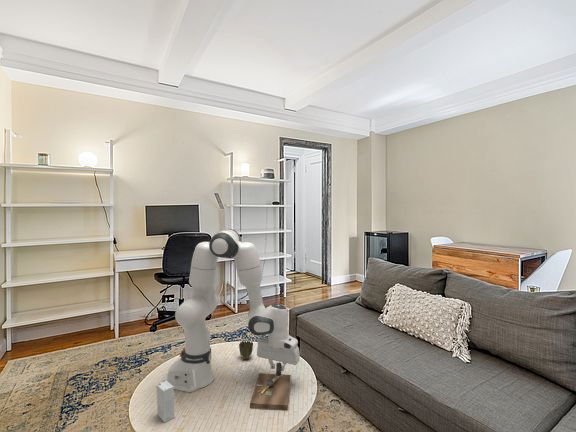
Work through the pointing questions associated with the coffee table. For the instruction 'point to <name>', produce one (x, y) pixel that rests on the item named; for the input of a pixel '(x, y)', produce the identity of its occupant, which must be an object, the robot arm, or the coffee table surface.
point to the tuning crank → (270, 382)
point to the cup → (246, 349)
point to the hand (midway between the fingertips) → (277, 369)
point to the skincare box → (165, 401)
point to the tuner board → (271, 392)
